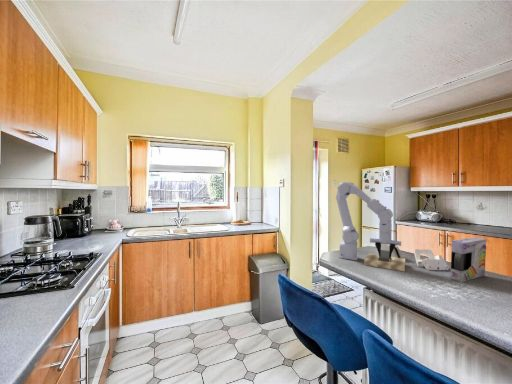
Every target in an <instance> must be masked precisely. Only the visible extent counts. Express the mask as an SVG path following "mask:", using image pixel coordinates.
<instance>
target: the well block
mask: <svg viewBox="0 0 512 384" xmlns="http://www.w3.org/2000/svg"><path fill="white" fill-rule="evenodd" d="M380 259H381V257H379V254H372V253H368V254H367V255H366V257H365V258H364V266H367V267H368V266H370V267H376V268H380V269H388V270H393V271H399V272H405V269H406V258H405V259H403V258H396V257H391V259H390V262H386V261H380Z"/></svg>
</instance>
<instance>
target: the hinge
mask: <svg viewBox="0 0 512 384" xmlns="http://www.w3.org/2000/svg"><path fill="white" fill-rule="evenodd" d="M389 246H390V244H382V243H381V250H387V251H390V248H389ZM391 257H396V258H403V259H405V260H406V257H405V256H403V255H402V253H401V250H400V248H399V245H395V248H394V250H393V252H392V254H391Z"/></svg>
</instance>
